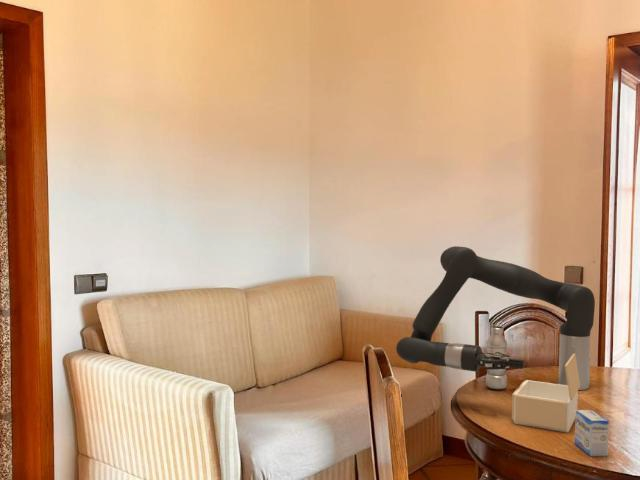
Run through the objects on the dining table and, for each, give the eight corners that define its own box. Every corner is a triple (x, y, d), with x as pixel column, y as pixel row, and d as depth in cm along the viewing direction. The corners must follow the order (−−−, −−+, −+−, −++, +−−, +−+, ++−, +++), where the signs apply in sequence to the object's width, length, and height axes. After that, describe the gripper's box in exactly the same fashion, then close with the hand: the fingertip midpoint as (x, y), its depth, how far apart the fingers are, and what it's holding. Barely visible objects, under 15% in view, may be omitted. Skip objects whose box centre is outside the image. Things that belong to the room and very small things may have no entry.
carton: (524, 405, 186) (525, 379, 186) (577, 414, 179) (578, 386, 178) (510, 423, 171) (511, 394, 171) (567, 433, 164) (568, 403, 164)
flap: (573, 353, 178) (575, 353, 177) (578, 385, 177) (580, 385, 177) (564, 365, 165) (566, 365, 164) (570, 400, 164) (572, 400, 164)
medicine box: (574, 444, 157) (574, 409, 157) (591, 443, 157) (592, 409, 157) (590, 456, 149) (591, 420, 149) (608, 456, 150) (609, 420, 149)
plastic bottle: (508, 392, 200) (509, 329, 198) (485, 390, 201) (487, 328, 200) (506, 386, 206) (507, 325, 205) (484, 385, 207) (485, 324, 206)
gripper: (456, 348, 180) (518, 356, 171) (470, 340, 191) (529, 346, 183) (456, 374, 180) (518, 383, 172) (469, 364, 192) (528, 372, 183)
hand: (523, 364), depth 177 cm, fingers closed
